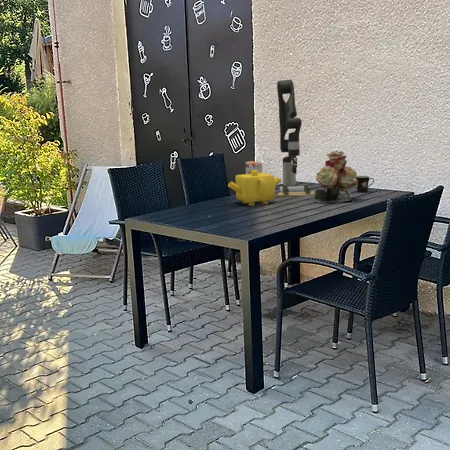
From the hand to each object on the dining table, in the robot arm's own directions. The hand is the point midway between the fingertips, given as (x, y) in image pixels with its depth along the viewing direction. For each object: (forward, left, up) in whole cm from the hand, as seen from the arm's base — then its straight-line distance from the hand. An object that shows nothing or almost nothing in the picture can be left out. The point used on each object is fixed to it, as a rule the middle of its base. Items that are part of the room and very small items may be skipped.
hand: (294, 172), depth 393 cm
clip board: (+12, 0, -13) cm, 18 cm away
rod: (+1, 0, -11) cm, 11 cm away
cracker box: (-5, -27, -13) cm, 30 cm away
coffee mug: (+9, +45, -13) cm, 48 cm away
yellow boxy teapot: (+34, -28, -13) cm, 46 cm away
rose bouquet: (+34, +23, -14) cm, 43 cm away
